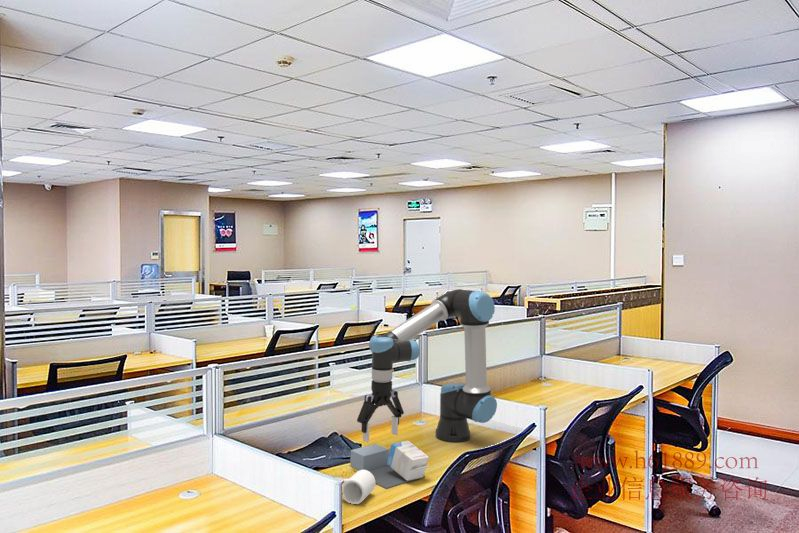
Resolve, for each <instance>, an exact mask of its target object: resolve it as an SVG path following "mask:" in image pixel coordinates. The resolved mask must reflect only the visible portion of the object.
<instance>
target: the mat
mask: <svg viewBox="0 0 799 533" xmlns="http://www.w3.org/2000/svg"><path fill="white" fill-rule="evenodd" d="M369 472H371V473H372V475H373V476H374V478H375V482H376V484H375V485H377V486H379V487H381V488H383V489H385V490H387V489H391V488H394V487H397V486H401V485H403V484H407V483H409V482H413V481H416V480H419V479H420V478H418V479H413V480H408V481H407V480H405V479H404V478H403V477H402V476H401V475H399V474H398V473H397V472H396V471H395V470H393V469H392V468H391V467H390V466H389V465H386V466H383V467H379V468H376V469H372V470H369ZM422 478H425V475H424V476H423V477H422Z"/></svg>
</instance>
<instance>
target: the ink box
mask: <svg viewBox="0 0 799 533" xmlns="http://www.w3.org/2000/svg"><path fill="white" fill-rule="evenodd" d="M429 459H430V456H428V454H426V453H425V452H424V451H422V450H421V449H419V448H418V447H417V446H415V445H414V444H413V443H412V442H410V441H409V440H405V441H404V440H403V441H399V442H394V443H391V444H390V447H389V455H388V459H387V463H386V464H387V465H389V466H390V467H391V468H392V469H393V470H395V471H396V472H397V473H398V474H399V475H401V476H402V477H403V478H404V479H405V480H407V481H408V480H413V479H416V480H419V479H423V478H424V477H423V476H425V472H426V469H427V468H429V467H430V465H428V462H429ZM418 478H419V479H418ZM413 481H414V480H413Z"/></svg>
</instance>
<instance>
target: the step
mask: <svg viewBox="0 0 799 533" xmlns="http://www.w3.org/2000/svg"><path fill="white" fill-rule="evenodd" d="M389 451H390V448H387V447H385V446H382V445H379V444H377V443H374V444H370V445H366V446H365V445H364V446H362V447H358V448H354V449H351V450H350V455H349V456H350V458H349V462H350V464H349V467H351V468H353V469H355V470H357V471H359V470H367V471H369V470H372V469H376V468H379V467H383V466H386V465H387V464H386V463H387V459H388V455H389Z"/></svg>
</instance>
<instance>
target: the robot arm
mask: <svg viewBox="0 0 799 533" xmlns="http://www.w3.org/2000/svg"><path fill="white" fill-rule="evenodd" d="M495 309H496V308H495V302H494V300H493V298H492V296H490V294H488V293H486V292H485V291H484V292H483V291H480V290H469V289H468V290H467V289H462V288H460V289H459V288H458V289H453V290H450V291H448V292H446V293H444V294H441V295H440V296H438V297H436V298H435V299H434V300H432V301H431V303H430V305H428V306H427V307H425V308H424V309H422V310H420V311H419V312H418V313H416V314H414V315H413V316H411V317H409V318H408V319H406V320H405V321H403V322H401V323H400V324H399V325H397V326H395V327H394V328H392V329H391V330H389V331H387V332H386V333H384V334H374V335H373V336H371V338H370V340H369V342H368V347H369V350H370V352H371V386H370V387H371V389H370V390H371V392H372V393H371V395H367V394H365V395H364V400H363V403H362V407H361V408H360V411H359V414H358V417H357V420H356V421H357V423H360V424H361V433H362V441H363V442H366V443H369V442H370V423H369V422H370V420H371V419H372V417H373V415H374V413H375V412H376V410H377V409H378V408H380V407H383V406H387V408H388V409H389V411H390V412H391V413H392V414H393V415H391V431H390V432H391V434H392V435H395V436H398V434H399V431H398V430H399V425H400V418H402V415H404V413H405V412H404V409H403V407H402V404H401V402H400V398H399V394H398V393H399V392H398V391H396V390H394V389H393V381H392V380H393V365H394V363H402V362H411V361H414V360H417V359H418V358H419V356H420V353H421V351H420V350H421V348H420V345H419V343H418V341H415V339H414V338H415V337H418V335H420V334H422V333H423V332H425V331H426V330H428V329H430V328H431V327H432V326H434V325H436V324H437V323H439V322H440V321H442V322H443V321H446V320H448V319H449V318H454V317H455V318H459V319H460V323H459V324H460V325H461V327H463V328H464V329H463V330H464V332H463V333H464V361H465V369H464V370H465V383H464V382H451V383H445V384H442V386H441V387H440V393H439V394H440V395H439V396H440V397H439V398H440V399H439V400H440V401H439V402H440V404H439V405H440V406H439V408H440V409H439V420H438V422H437V423H438V424H437V426H436V429H435V434H434V435H435V437H436V439H439V440H441V441H443V442H444V441H445V442H450V443H459V442H460V443H461V442H462V443H463V442H466V441H469V440H471V435H472V434H471V431H470V428H469V422H468V420H471V421H473V422H475V423H476V422H477V423H481V424H485V423H488V422H489V421H490V420H492V418H493V417H494V416H495V414H496V411H497V410H498V409H497V408H498V402H497V399H496V398H495V397H494V395H492V393H491V392H492V390H491V389H492V388H491V386H489V385H488V384H487V383H488V382H487V343H486V342H487V341H486V339H487V338H486V327H487V326H488V325H489V323H490V321H491V319H492V318H493V316H494V314H495ZM413 339H414V340H413Z"/></svg>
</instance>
